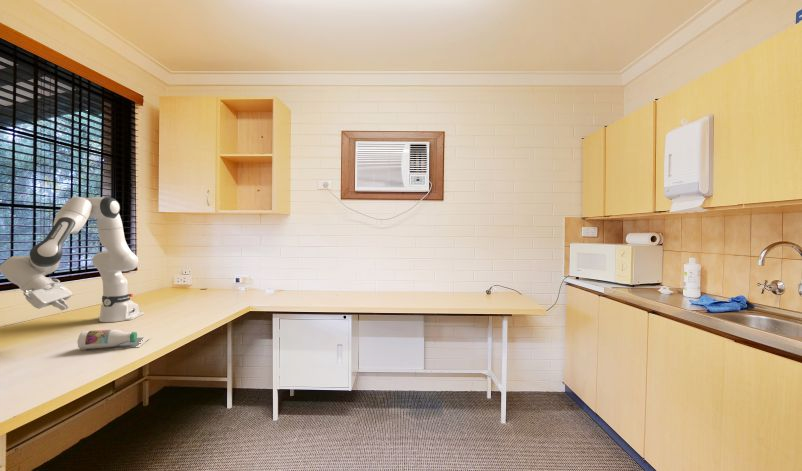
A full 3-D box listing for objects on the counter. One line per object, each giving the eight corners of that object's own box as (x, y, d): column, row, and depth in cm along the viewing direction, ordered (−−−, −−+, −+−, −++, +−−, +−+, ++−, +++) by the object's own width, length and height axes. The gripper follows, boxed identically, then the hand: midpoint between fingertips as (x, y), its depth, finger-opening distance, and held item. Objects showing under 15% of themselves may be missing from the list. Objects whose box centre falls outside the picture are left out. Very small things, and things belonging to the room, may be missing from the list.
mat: (86, 350, 155) (86, 349, 155) (103, 340, 169) (103, 339, 169) (139, 347, 161) (139, 346, 160) (151, 337, 174) (151, 337, 174)
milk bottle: (87, 339, 161) (139, 335, 168) (79, 353, 155) (134, 349, 162) (82, 327, 157) (136, 324, 164) (75, 341, 151) (131, 338, 158)
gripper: (27, 286, 146) (56, 308, 149) (60, 278, 166) (85, 298, 169) (13, 297, 145) (43, 319, 148) (48, 288, 165) (73, 308, 168)
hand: (66, 308), depth 158 cm, fingers closed
